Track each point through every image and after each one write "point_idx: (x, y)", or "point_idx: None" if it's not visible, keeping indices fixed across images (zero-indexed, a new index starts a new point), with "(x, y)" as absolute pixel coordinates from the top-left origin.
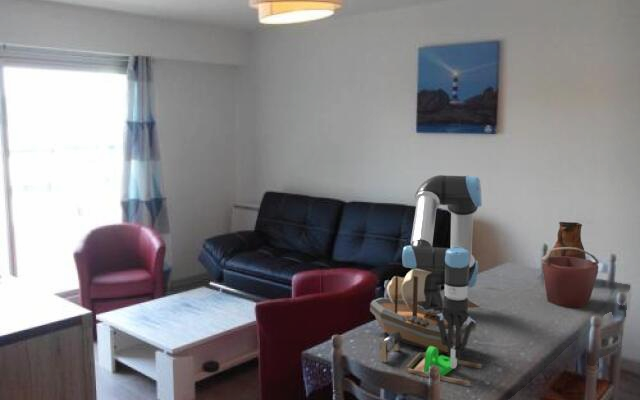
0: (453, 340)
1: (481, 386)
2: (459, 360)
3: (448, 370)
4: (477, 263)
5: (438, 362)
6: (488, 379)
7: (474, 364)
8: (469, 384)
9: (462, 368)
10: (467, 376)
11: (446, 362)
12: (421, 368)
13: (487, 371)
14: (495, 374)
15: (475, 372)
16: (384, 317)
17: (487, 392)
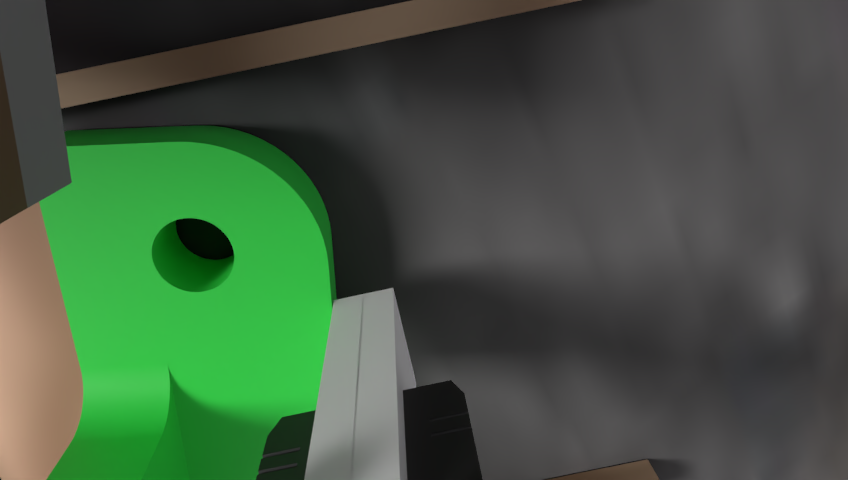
0: (42, 106)
1: (751, 402)
2: (303, 43)
3: None
4: None
5: (175, 392)
6: (778, 218)
7: (534, 9)
8: (653, 470)
9: (413, 148)
10: (554, 302)
11: (248, 320)
12: None
13: (714, 10)
14: (826, 29)
15: (592, 146)
16: None
17: (828, 464)
